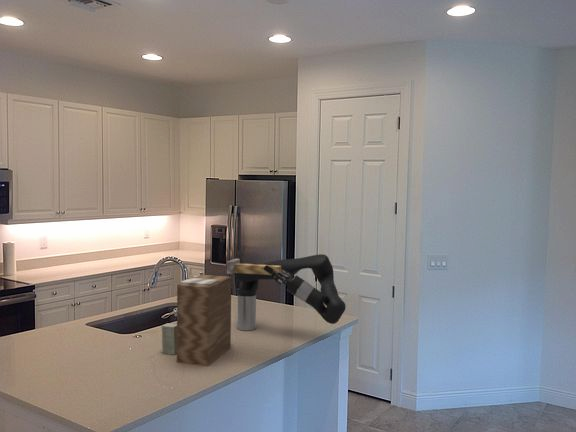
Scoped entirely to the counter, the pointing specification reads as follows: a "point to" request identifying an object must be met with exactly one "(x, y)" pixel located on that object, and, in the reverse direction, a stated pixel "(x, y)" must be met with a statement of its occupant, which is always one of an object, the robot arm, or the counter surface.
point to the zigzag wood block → (203, 319)
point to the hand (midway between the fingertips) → (266, 266)
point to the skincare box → (169, 338)
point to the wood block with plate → (248, 268)
